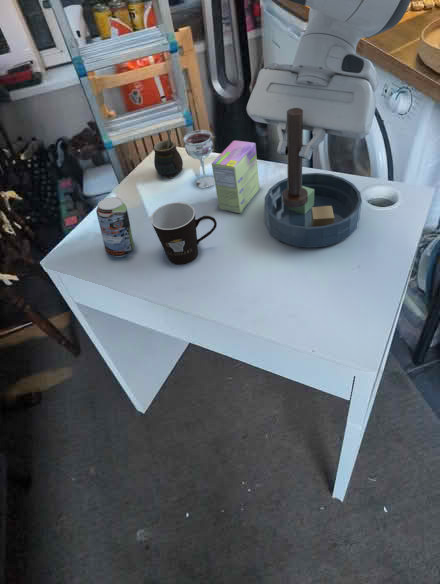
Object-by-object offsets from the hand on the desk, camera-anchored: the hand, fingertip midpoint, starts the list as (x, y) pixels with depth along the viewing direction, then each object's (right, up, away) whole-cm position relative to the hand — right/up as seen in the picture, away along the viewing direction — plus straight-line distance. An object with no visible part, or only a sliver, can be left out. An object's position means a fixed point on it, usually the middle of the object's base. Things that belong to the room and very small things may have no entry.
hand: (293, 156), depth 69 cm
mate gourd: (-25, +9, +44) cm, 51 cm away
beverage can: (-33, -13, +24) cm, 43 cm away
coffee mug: (-18, -14, +20) cm, 31 cm away
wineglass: (-15, +5, +39) cm, 42 cm away
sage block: (+6, -3, +25) cm, 26 cm away
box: (-7, 0, +32) cm, 33 cm away
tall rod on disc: (+1, -6, +7) cm, 9 cm away
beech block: (+9, -9, +19) cm, 23 cm away
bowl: (+8, -7, +23) cm, 25 cm away
